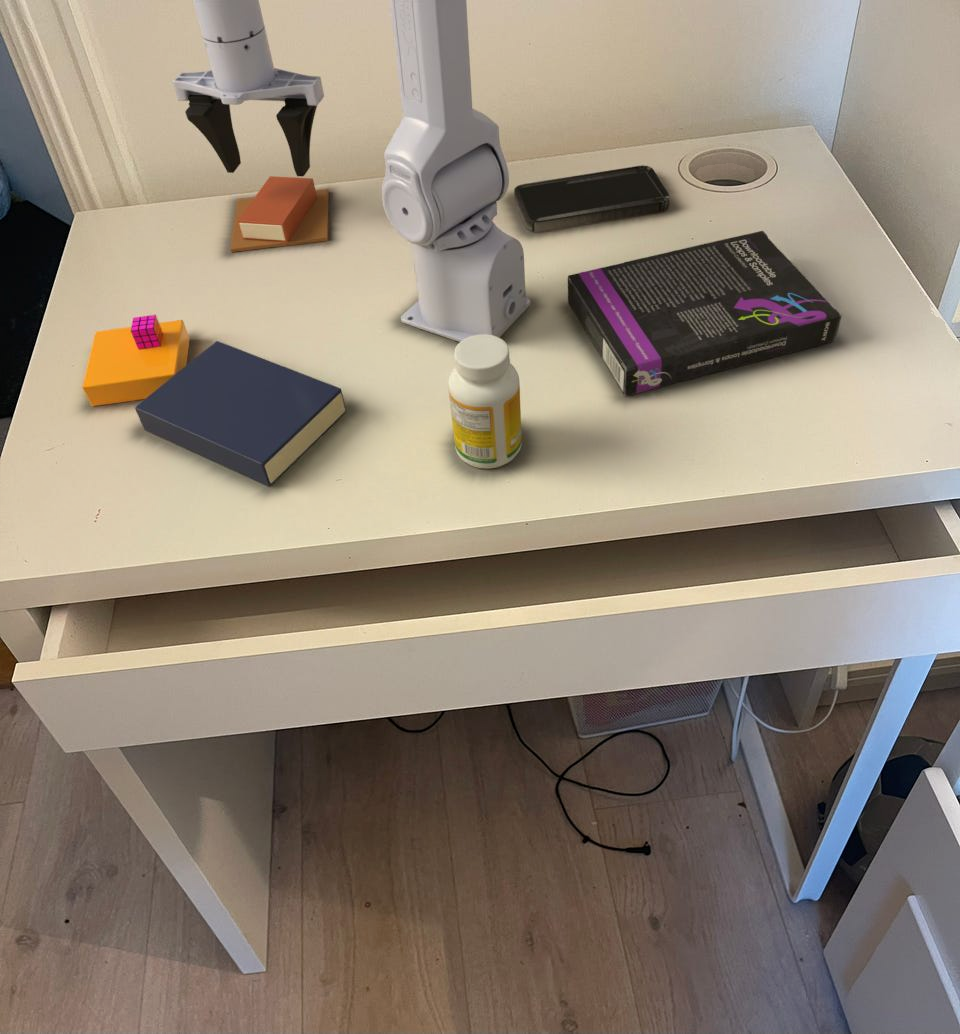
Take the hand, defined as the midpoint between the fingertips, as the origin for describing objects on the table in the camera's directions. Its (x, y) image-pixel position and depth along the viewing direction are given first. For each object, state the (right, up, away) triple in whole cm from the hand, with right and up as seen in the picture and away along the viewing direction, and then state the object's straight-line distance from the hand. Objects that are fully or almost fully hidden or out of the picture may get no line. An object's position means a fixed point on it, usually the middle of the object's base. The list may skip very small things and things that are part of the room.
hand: (268, 169), depth 97 cm
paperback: (0, -4, +4) cm, 5 cm away
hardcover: (+2, -27, -17) cm, 32 cm away
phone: (+33, -3, +2) cm, 33 cm away
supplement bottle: (+22, -30, -21) cm, 43 cm away
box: (+41, -18, -12) cm, 46 cm away
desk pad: (0, -4, +4) cm, 6 cm away
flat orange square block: (-9, -23, -11) cm, 27 cm away
